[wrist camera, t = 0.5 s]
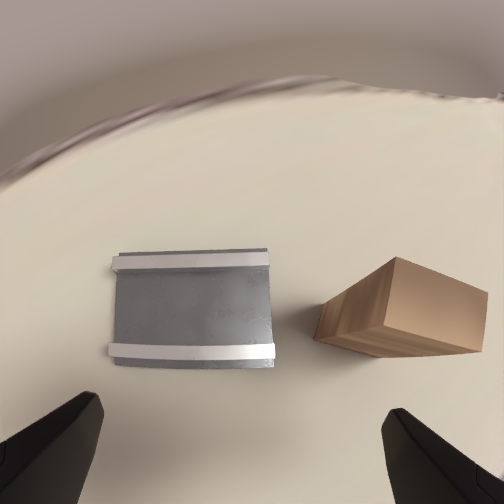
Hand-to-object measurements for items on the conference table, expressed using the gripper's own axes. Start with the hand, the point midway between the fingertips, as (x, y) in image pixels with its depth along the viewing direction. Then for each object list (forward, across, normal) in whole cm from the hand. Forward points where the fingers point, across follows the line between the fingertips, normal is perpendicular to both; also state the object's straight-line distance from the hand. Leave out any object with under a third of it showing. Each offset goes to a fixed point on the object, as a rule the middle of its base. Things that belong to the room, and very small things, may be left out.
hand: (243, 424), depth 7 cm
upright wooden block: (+14, -9, +5) cm, 17 cm away
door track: (+14, +3, +4) cm, 15 cm away
